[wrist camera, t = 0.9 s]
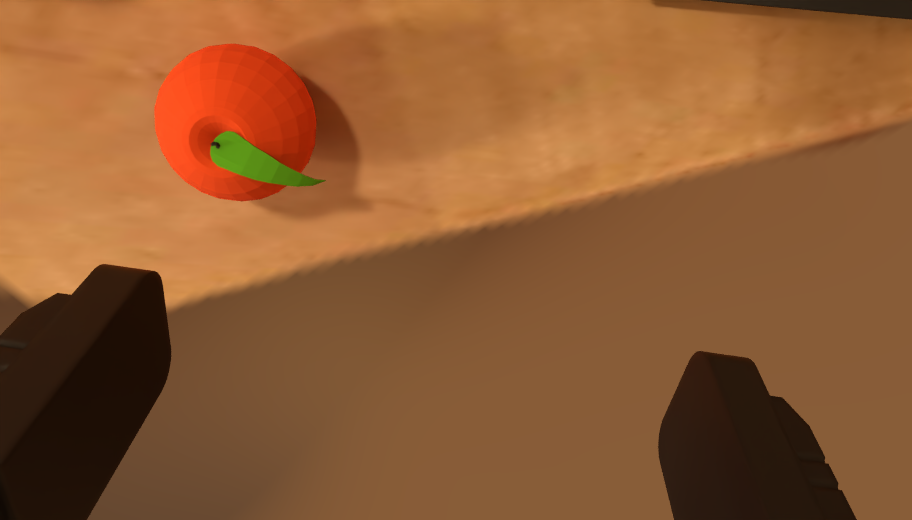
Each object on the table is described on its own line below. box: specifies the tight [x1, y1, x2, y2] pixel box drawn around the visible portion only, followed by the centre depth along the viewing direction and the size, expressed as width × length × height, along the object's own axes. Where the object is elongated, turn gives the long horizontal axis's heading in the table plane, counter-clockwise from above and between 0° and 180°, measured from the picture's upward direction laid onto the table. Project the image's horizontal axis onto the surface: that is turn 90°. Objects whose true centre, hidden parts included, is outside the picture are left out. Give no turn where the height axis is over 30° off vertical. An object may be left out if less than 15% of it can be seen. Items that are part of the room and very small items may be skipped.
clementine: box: [155, 44, 326, 201], centre depth 30 cm, size 8×7×7 cm
